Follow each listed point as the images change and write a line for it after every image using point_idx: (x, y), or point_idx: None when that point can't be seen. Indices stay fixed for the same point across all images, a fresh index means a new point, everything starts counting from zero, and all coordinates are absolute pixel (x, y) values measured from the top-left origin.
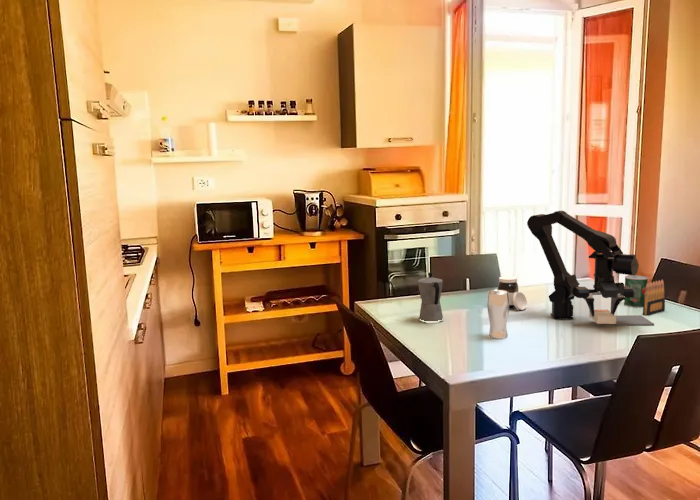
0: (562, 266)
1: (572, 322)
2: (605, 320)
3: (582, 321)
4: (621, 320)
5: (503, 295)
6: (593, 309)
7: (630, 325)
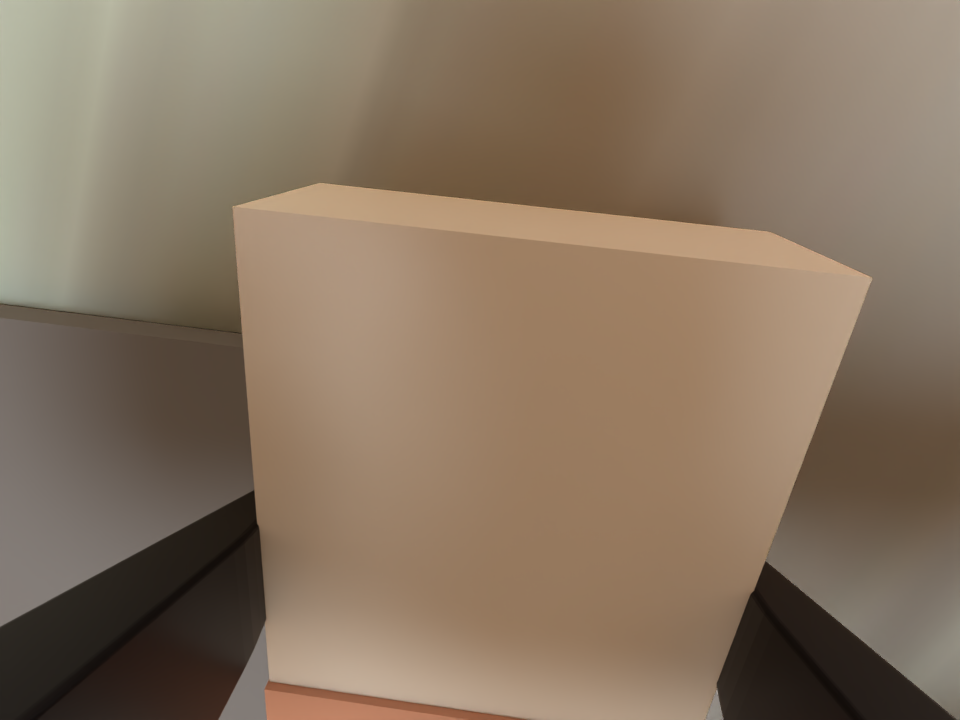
0: None
1: (923, 618)
2: (581, 225)
3: None
4: (138, 529)
5: None
6: (871, 710)
7: (49, 313)
